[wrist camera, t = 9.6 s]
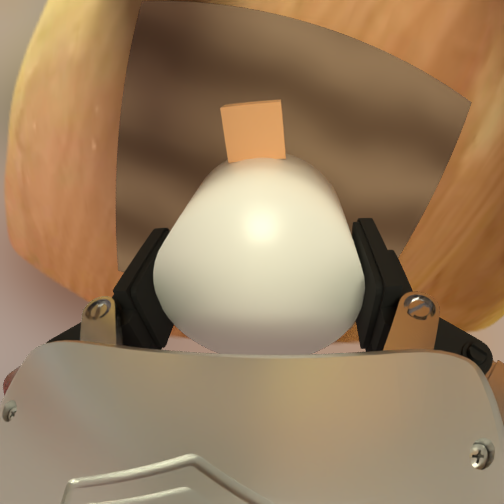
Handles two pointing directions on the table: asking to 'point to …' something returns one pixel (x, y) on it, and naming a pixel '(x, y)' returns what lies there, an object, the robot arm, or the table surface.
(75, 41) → the table surface
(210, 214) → the light bulb
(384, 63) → the post board
